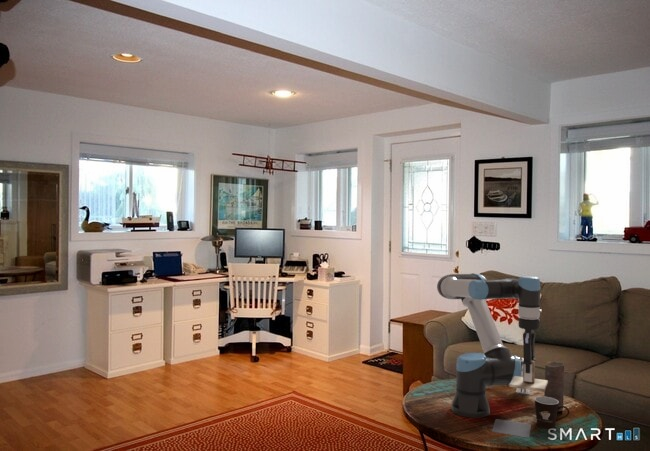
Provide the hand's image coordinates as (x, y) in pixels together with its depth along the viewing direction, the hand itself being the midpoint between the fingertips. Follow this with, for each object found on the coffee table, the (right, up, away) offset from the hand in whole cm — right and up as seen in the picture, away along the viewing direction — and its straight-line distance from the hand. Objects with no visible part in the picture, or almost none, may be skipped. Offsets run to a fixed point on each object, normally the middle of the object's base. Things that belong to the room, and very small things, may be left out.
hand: (529, 379), depth 199 cm
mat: (-6, -19, +1) cm, 20 cm away
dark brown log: (+18, -19, +20) cm, 32 cm away
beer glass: (+13, -18, +41) cm, 47 cm away
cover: (0, -2, 0) cm, 2 cm away
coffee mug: (+9, -19, +3) cm, 21 cm away
